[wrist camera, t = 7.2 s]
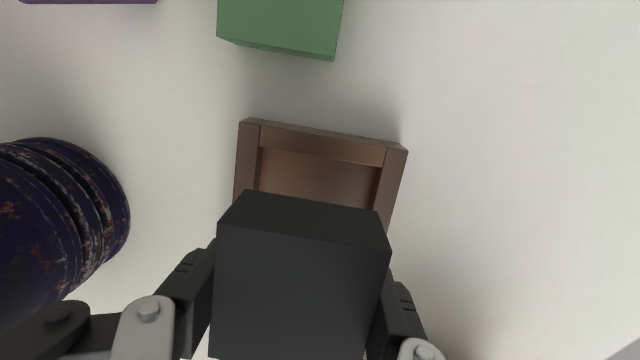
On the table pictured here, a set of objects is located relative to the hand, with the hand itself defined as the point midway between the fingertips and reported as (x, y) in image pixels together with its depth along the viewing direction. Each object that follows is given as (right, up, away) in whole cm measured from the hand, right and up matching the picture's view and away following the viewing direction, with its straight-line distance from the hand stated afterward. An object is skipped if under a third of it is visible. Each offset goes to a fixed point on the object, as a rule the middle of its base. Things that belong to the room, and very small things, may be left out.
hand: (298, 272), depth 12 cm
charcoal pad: (0, 0, +1) cm, 1 cm away
